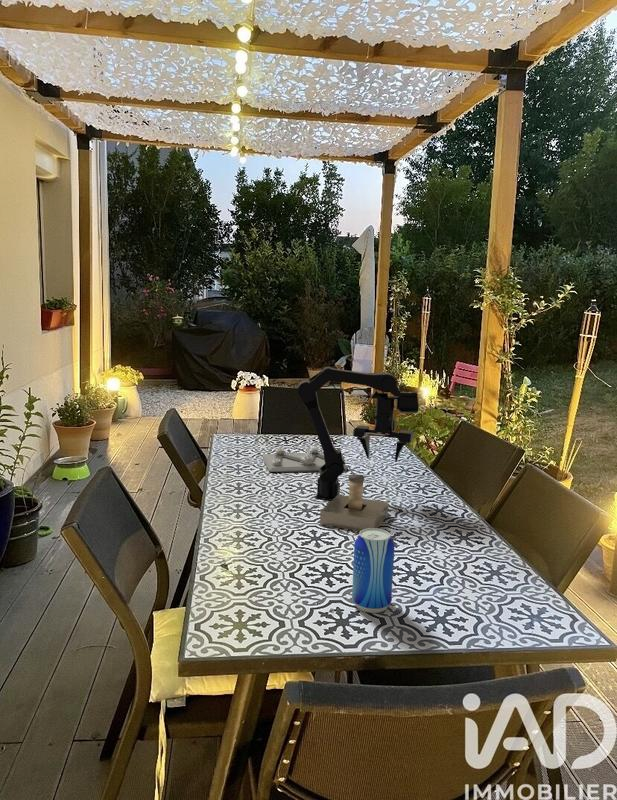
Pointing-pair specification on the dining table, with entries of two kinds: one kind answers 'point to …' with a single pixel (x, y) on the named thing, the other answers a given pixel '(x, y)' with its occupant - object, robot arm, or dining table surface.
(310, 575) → the dining table surface
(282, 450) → the grey linkage board
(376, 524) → the grey square block
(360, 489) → the ash pin
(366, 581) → the beer can
